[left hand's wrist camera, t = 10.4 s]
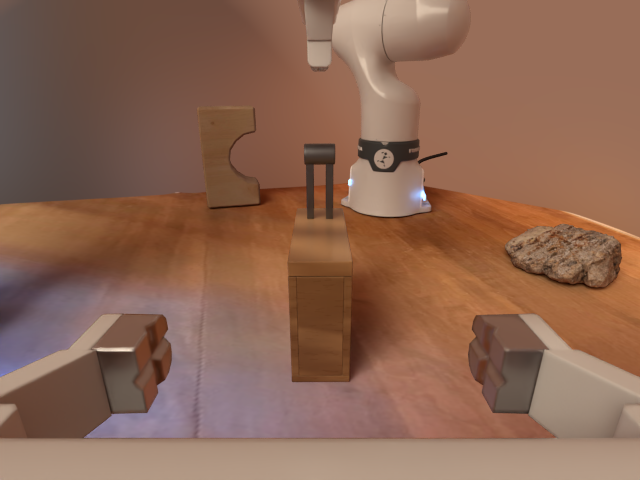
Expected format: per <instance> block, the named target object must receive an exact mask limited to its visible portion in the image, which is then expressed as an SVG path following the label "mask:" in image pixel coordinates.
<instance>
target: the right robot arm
mask: <svg viewBox="0 0 640 480" xmlns="http://www.w3.org/2000/svg"><path fill="white" fill-rule="evenodd" d="M297 1H298V5H299V9H300V13H301V17H302V21H303V24H305V25H306V31H307V46H308V63H309V65H310V66H311V70H313V71H314V72H324V71H326V70H327V69H328V66H329V65H330V64H331V60H332V48H333V50H334V51H335V53H336V54H337V56H338V57H339V58H341V59H342V60H343V61H344V62H345V63H346V64H347V66H348V67H349V69H350V70H351V72H352V73H353V76H354V78H355V80H356V83H357V85H358V89H359V93H360V99H361V138H360V139H359V144H358V156H359V159H358V161H357V162H356V163H355V164H354V165H353V166H351V170H350V180H349V196H347V197H345V198H343V199H342V200H341V204H342V205H344V206H347V207H350V208H352V209H353V210H355V211H357V212H359V213H363V214H367V215H373V216H382V217H399V216H407V215H412V214H415V213H421V212H429V211H431V205H430V203H429V201H428V200H427V198H426V195H425V193H424V189H425V188H424V186H423V182H424V181H425V178H424V170H423V169H422V167H421V166H420V165H419V164H420V163H421V162H423V161H426V160H429V159H432V158H435V157H439V156H443V155H447V152H444V153H440V154H436V155H432V156H429V157H426V158H423V159H421V160H419V161H417V158H418V156H419V149H420V146H419V139H417V138H418V125H419V114H420V99H419V97H418V95H417V93H416V92H415V91H414V90H413V89H412V88H411V87H410V86H408V85H406V84H405V83H403V82H401V81H400V80H399V79H398V77H397V75H396V72H395V62H397V61H424V60H432V59H436V58H440V57H444V56H447V55H451V54H454V53H455V52H456V51H457V50H458V49H459V48H460V47H461V46H462V44H463V43H464V41H465V39H466V37H467V35H468V32H469V28H470V22H471V13H470V8H469V4H468V2H467V0H353V1H350V2H348V3H346V4H343V5H341V6H340V3H341V0H297Z"/></svg>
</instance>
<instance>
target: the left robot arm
mask: <svg viewBox="0 0 640 480" xmlns="http://www.w3.org/2000/svg"><path fill="white" fill-rule="evenodd" d="M167 330H168V326H167V321H166V318H165V317H164V316H163V315H156V314H104V315H101V316H100V317H99V318H98V319H97V320H96V321H95V322H94V323H93V324H92V325H91V326H90V327H89V328H88V330H87V331H86V332H85V333H84V334H83V335H82V336H81V337H80V338H79V339H78V340H77V341H76V342H75V343H74V344H73V345H72V346H71V347H70V348H69V349H68V350H60V351H57V352H55V353H53V354H51V355H49V356H46V357H44V358H42V359H40V360H37V361H35V362H33V363H31V364H28V365H26V366H24V367H22V368H20V369H17V370H15V371H13V372H11V373H8V374H6V375H4V376H2V377H0V480H640V377H638V376H636V375H634V374H631V373H629V372H627V371H625V370H623V369H620V368H618V367H616V366H614V365H611V364H609V363H607V362H605V361H603V360H600V359H598V358H596V357H594V356H591V355H589V354H587V353H585V352H583V351H580V350H572V349H571V348H570V347H569V346H568V345H567V344H566V343H565V342H564V341H563V340H562V339H561V338H560V337H559V336H558V335H557V333H556V332H555V331H554V330H553V329H552V328H551V327H550V326H549V325H548V324H547V323H546V322H545V321H544V320H543V319H542V318H541V317H540V316H539V315H536V314H534V313H533V314H503V315H476V316H475V318H474V321H473V326H472V330H473V332H474V333H475V335H476V338H475V339H474V340H473V341H472V342H471V343H470V344H469V352H468V358H469V366H470V370H471V373H472V375H473V377H474V379H475V380H476V381H477V382H479V383H480V384H482V385H483V389H482V394H483V396H484V397H485V399H486V401H487V403H488V405H489V407H490V408H491V410H492V412H493V413H520V414H529V416H530V417H531V418H532V419H534V420H535V421H536V422H537V423H539V424H540V425H541V426H543V427H544V428H545V429H546V430H548V431H549V432H550V433H551V434H553V435H554V436H555V437H556V438H84V437H85V436H86V435H87V434H89V433H90V432H91V431H93V430H94V429H95V428H96V427H98V426H99V425H100V424H101V423H103V422H104V421H105V420H106V419H108V418H109V417H110V416H111V414H120V413H147V412H148V410H149V409H150V407H151V405H152V403H153V401H154V399H155V398H156V396H157V394H158V389H157V385H158V384H160V383H161V382H163V381H164V380H165V379H166V377H167V375H168V373H169V370H170V365H171V361H172V351H171V344H170V343H169V342H168V341H167V340H166V339H165V338H164V335H165V333H166V332H167Z"/></svg>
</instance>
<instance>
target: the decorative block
mask: <svg viewBox="0 0 640 480" xmlns="http://www.w3.org/2000/svg"><path fill="white" fill-rule="evenodd" d="M197 114H198V123H199V132H200V141H201V150H202V159H203V168H204V177H205V186H206V195H207V204H208V207H209V208H219V207H232V206H246V205H259V204H260V187H259V182H258V181H257V179H256V178H254V177H247V176H245V175H243V174H241V173H240V172H238V171H237V170H236V169H235V168H234V167H233V165H232V164H231V162H230V152H231V149H232V147H233V146H234V144H235V143H236V141H237V140H239V139H240V138H241V137H242V136H243V135H245V134H249V133H253V132H255V131H256V121H255V109H254V108H253V107H252V106H204V107H198V109H197Z"/></svg>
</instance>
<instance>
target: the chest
mask: <svg viewBox="0 0 640 480" xmlns="http://www.w3.org/2000/svg"><path fill="white" fill-rule="evenodd" d="M288 286H289V313H290V339H291V366H292V382H349V378H350V343H351V308H352V276H288Z"/></svg>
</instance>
